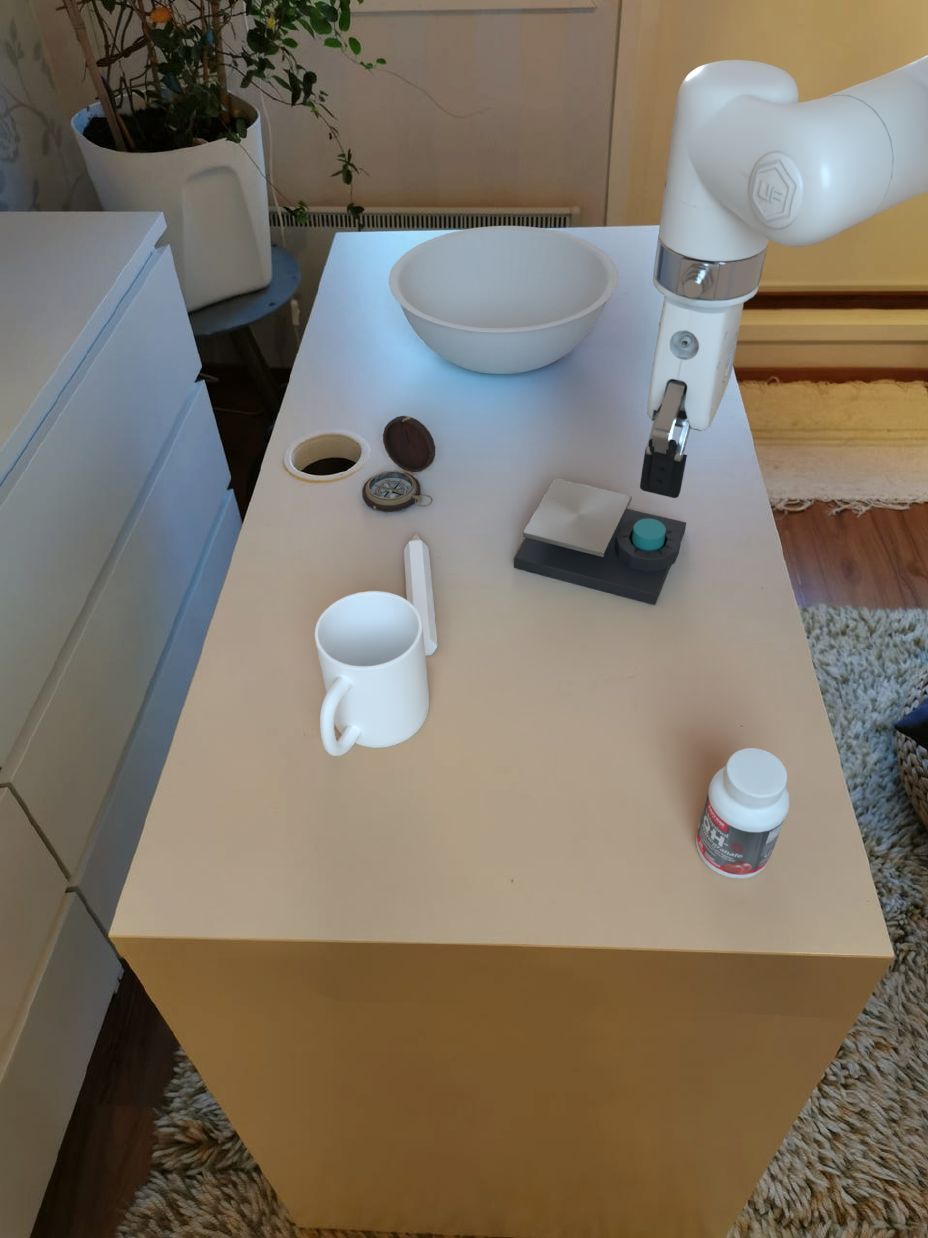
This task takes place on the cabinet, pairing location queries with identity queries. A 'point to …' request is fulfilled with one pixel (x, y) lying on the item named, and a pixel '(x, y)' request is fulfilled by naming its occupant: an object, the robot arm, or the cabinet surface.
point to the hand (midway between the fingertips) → (674, 458)
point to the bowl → (503, 295)
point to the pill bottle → (743, 814)
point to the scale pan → (578, 517)
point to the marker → (421, 588)
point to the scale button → (648, 534)
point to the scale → (609, 561)
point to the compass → (401, 466)
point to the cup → (371, 671)
